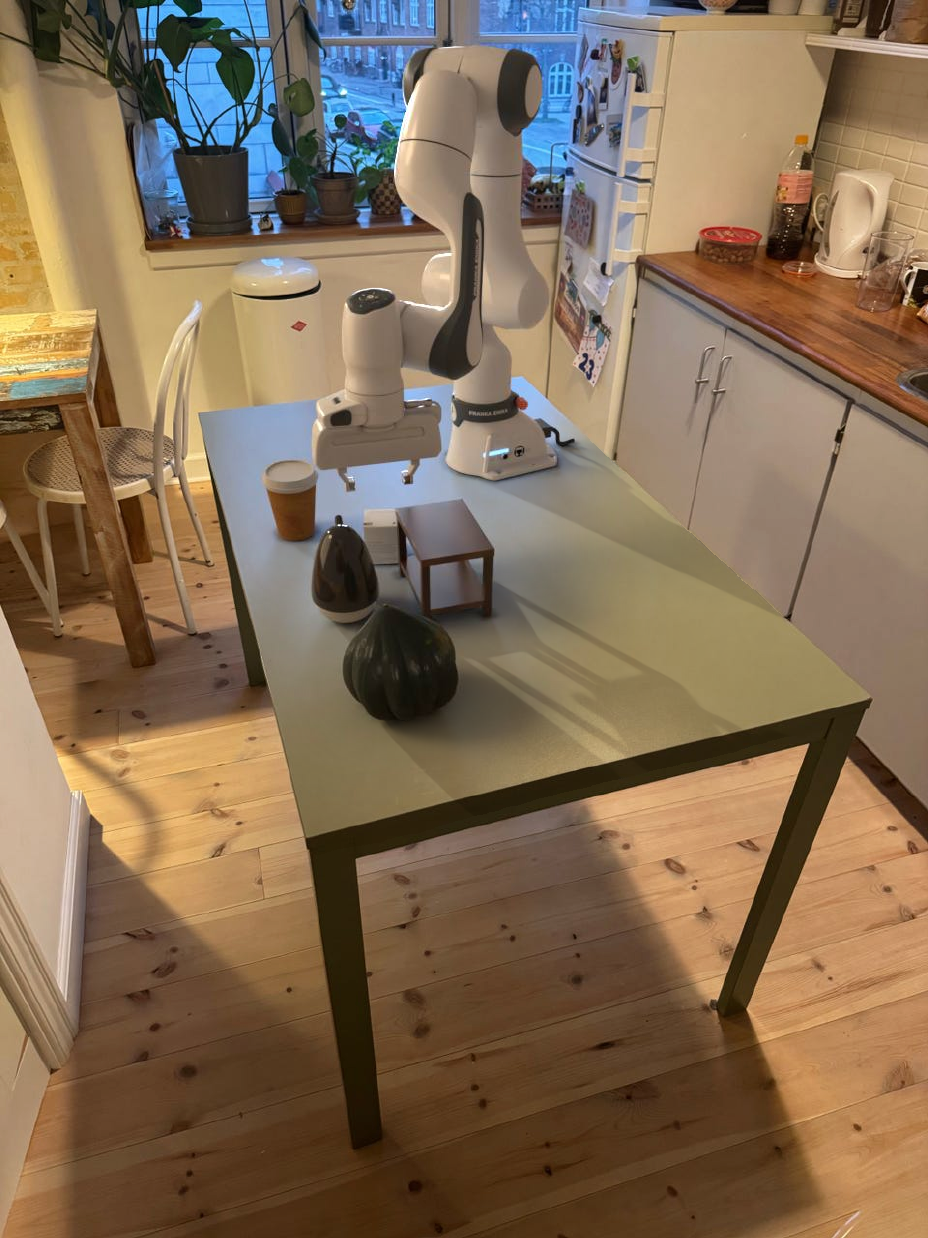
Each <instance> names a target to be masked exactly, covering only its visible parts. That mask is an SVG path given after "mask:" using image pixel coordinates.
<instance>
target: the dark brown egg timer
mask: <svg viewBox="0 0 928 1238" xmlns="http://www.w3.org/2000/svg"><path fill="white" fill-rule="evenodd" d="M343 519H344V518H343V516H342V515H341V514H337V515H335V516H334V525H332V526H330V527H329V528H327V530H326V531H324V533H323V534H322V536H321V538H320V540H319V543H318V545H317V548H316V551H315V556H314V560H313V565H312V572H311V573H312V574H311V584H310V587H311V588H310V591H311V599H312V601H313V603H314V604H315V605H316V607H317V609H318V611H319V612H320V613H321V614H322V615H323V617H325V618H327V619H328V620H330V621H332V622H336V623H341V624H351V623H355V622H359V621H361V620H362V619H364V618H366V617H367V616H368V615H369V614H370V613H371V612H372V611H373V610H374V608H375V606H376V603H377V600H378V599H379V597H380V591H381V590H380V583H379V578H378V574H377V570H376V566H375V564H374V563H373V560H372V558H371V555H370V553H369V550H368V548H367V546H366V544H365V542H364V538H363V537H362V536H361V534H360V533H359V532H358V531H357V530H356V529H355V528H354V527H353V526H350V525H348V524H345V523H344V520H343Z"/></svg>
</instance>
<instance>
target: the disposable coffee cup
mask: <svg viewBox="0 0 928 1238" xmlns="http://www.w3.org/2000/svg"><path fill="white" fill-rule="evenodd" d="M318 480H319V472H318V471H317V469H316V466H315V464H314V463H312V462H310V461H307V460H305V459H299V458H298V459H297V458H289V459H281V460H277V461H274V462H272V463H269V464H268V465H267V466H265V468H264V469H263V473H262V476H261V483H262V485H263V487H264V488H265V489H266V493H267V497H268V500H269V504H270V507H271V510H272V514H273V515H272V516H273V519H274V522H275V525H276V529H277V532H278V536H279V537H280V538H281V539H282V540H286V541H291V542H297V541H304V540H306V539H308V538H310V537H312V536H313V535H314V534H315V531H316V504H317V503H316V502H317V500H316V498H317V482H318Z"/></svg>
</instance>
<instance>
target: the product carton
mask: <svg viewBox="0 0 928 1238" xmlns="http://www.w3.org/2000/svg"><path fill="white" fill-rule="evenodd" d="M362 534H363V540H364V542H365V544H366V546H367V548H368V550H369V553H370V555H371V558H372V560H373V563H374V565H385V564H386V565H389V564H391V565H392V564H393V565H394V564H399V563H398V541H397V518H396V513H395V508H384V509H364V514H363V523H362Z"/></svg>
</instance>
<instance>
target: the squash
mask: <svg viewBox="0 0 928 1238" xmlns="http://www.w3.org/2000/svg"><path fill="white" fill-rule="evenodd" d="M456 656H457V654H456V647H455V645H454V643H453V639H452V638H451V636H450V635H449V633H448V632H447V630H446V629H445V628H444V627H443V626H442V625H441V624H439V623H438V622H437V621H434V620H433V619H431V620H430V619H428V618H426V617H424V616H422V614H418V613H416V612H413V611H410V610H408V609H404V608H401V607H399V606H396V605H392V604H388V603H383V604H382V605H381V606H380V607H378V608H377V609H376V610H374V612H373V613H372V614H371V616H370V617H369V618H368V620H367V621H366V622H365V623H364V624H363V626H362V627H361V628H360V629H359V631H358V632H357V633H356V634H355V635H354V637H353V638H352V639H351V641H350V642H349V644H348V646H347V647H346V650H345V653H344V656H343V660H342V677H343V682H344V684H345V687H346V688H347V690H348V692H349V693H350V695H351V696H352V697H353V698H354V700H355V701H356V702H358V703H359V704H360V705H362V706H363V708H364V709H365V711H366V712H367V713H368V715H370V717H372V718H374V719H375V720H378V721H379V720H380V721H389V720H392V719H394V718H397V719H398V720H401V721H408V720H410V719H412V717H413V716H414V714H415V713H416V714H419V715H423V714H427V713H429V712H431V711H432V710H437V709H440V708H442V707H444V706H447V704H449V703H450V702H451V701H452V700H453V698H454V697H455V695H456V693H457V690H458V689H457V688H458V683H459V672H458V671H459V670H458V668H457V667H458V666H457V663H456V661H457V660H456V658H457V657H456Z"/></svg>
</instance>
